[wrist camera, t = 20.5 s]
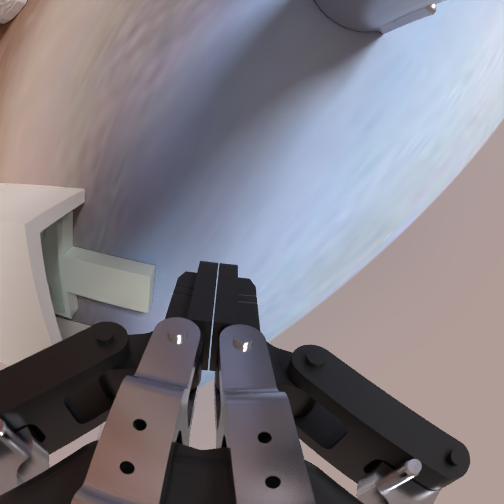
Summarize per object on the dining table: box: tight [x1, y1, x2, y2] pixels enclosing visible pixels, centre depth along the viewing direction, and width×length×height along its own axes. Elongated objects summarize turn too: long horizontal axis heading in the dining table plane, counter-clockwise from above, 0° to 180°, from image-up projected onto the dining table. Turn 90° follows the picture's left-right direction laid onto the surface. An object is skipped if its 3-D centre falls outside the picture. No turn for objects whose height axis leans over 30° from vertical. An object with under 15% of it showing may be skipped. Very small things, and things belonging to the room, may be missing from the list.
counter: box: [0, 183, 91, 367], centre depth 23 cm, size 16×21×11 cm
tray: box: [40, 211, 156, 319], centre depth 25 cm, size 22×14×6 cm, turn 75°
